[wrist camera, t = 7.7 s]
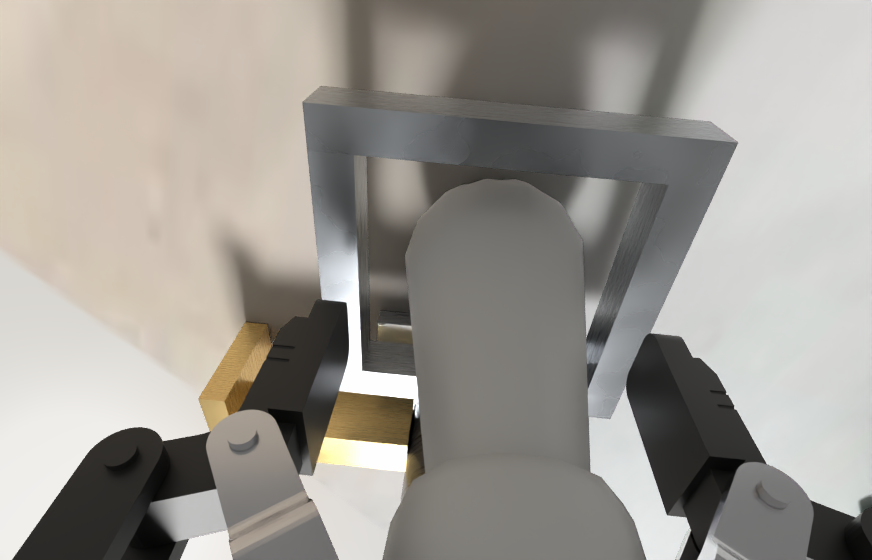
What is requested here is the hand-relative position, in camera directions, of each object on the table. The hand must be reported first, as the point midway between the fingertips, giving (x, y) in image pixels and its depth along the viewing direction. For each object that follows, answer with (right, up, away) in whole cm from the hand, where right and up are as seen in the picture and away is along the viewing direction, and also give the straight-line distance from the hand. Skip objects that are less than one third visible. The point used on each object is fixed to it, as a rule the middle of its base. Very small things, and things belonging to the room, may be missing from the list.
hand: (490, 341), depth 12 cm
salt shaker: (+1, +4, +5) cm, 6 cm away
